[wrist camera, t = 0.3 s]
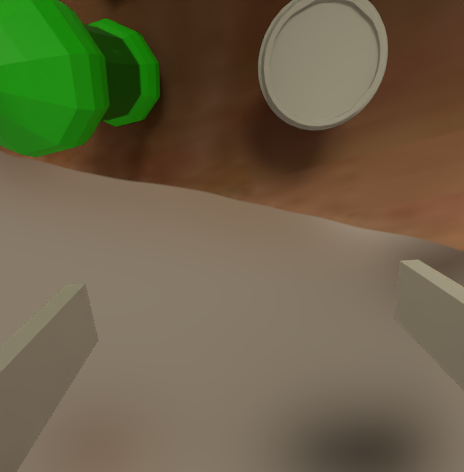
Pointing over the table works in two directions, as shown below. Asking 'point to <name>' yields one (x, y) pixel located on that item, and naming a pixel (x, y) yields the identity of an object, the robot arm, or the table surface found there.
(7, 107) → the plastic bottle
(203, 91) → the table surface
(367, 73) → the disposable coffee cup
